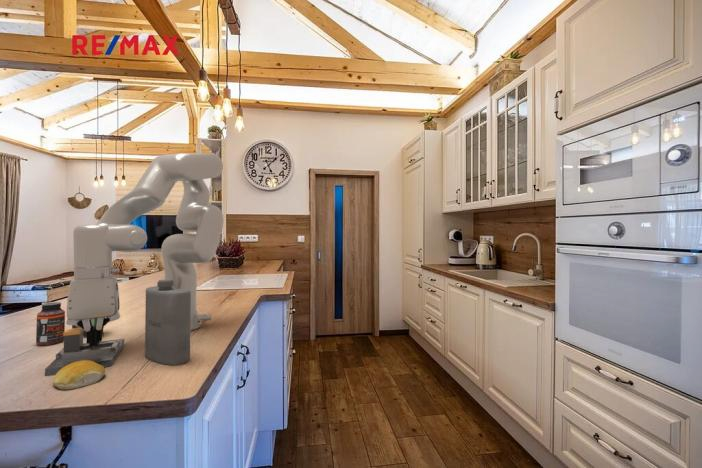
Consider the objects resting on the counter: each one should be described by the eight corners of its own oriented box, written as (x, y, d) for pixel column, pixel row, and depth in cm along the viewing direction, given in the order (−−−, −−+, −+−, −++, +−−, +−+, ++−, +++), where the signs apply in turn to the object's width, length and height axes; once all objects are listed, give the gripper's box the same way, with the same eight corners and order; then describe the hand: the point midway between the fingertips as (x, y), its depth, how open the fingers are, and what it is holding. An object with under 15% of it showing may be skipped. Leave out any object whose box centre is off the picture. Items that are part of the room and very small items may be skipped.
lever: (83, 350, 81) (83, 327, 81) (79, 354, 78) (80, 330, 78) (67, 352, 79) (67, 329, 79) (62, 356, 76) (63, 332, 76)
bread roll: (94, 369, 74) (94, 352, 74) (110, 379, 69) (110, 361, 69) (46, 383, 67) (46, 364, 67) (60, 395, 62) (61, 374, 62)
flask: (137, 355, 82) (138, 278, 82) (160, 349, 87) (161, 276, 87) (171, 368, 74) (172, 283, 74) (194, 360, 79) (195, 280, 79)
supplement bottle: (46, 347, 87) (47, 306, 87) (30, 345, 89) (30, 305, 89) (70, 340, 93) (70, 301, 93) (54, 338, 94) (54, 300, 94)
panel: (124, 343, 90) (124, 334, 90) (111, 365, 75) (112, 354, 75) (70, 350, 85) (70, 340, 85) (44, 375, 70) (45, 363, 70)
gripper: (130, 269, 87) (131, 335, 87) (59, 273, 80) (60, 345, 80) (127, 273, 81) (128, 344, 81) (49, 277, 73) (50, 355, 74)
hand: (94, 344), depth 81 cm, fingers closed
